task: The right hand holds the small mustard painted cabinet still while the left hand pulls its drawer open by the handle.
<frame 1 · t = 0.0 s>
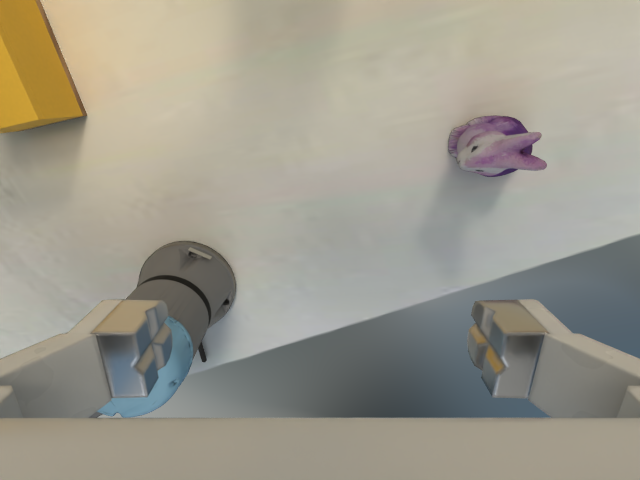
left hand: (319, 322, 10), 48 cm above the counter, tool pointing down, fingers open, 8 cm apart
cabinet: (20, 46, 51), on the counter
figurine: (477, 145, 55), on the counter
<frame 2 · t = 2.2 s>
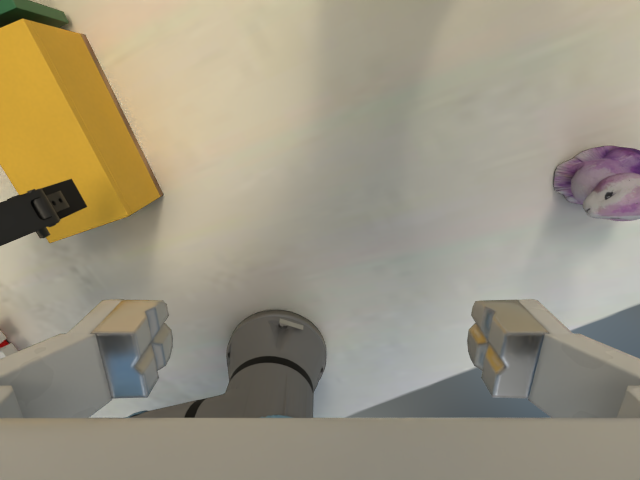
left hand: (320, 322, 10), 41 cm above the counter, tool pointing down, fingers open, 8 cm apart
drawer: (37, 83, 41), point 5 cm above the counter, slide at 1.3 cm
cabinet: (91, 133, 48), on the counter
figurine: (585, 178, 50), on the counter
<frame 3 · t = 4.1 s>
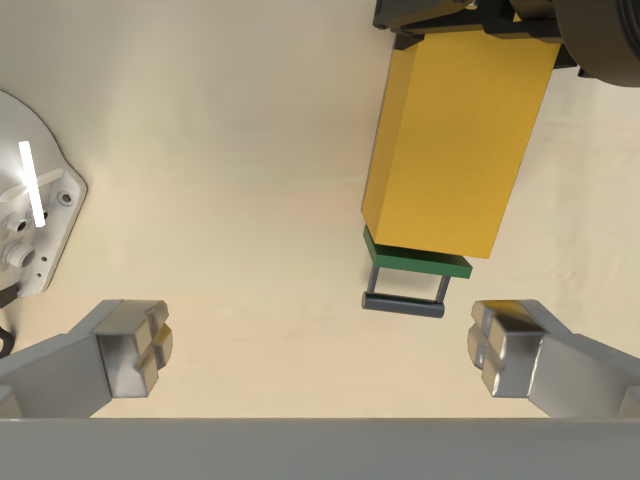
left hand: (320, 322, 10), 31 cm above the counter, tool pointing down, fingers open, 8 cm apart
drawer: (427, 192, 35), point 5 cm above the counter, slide at 1.3 cm
cabinet: (428, 121, 38), on the counter, touching right hand
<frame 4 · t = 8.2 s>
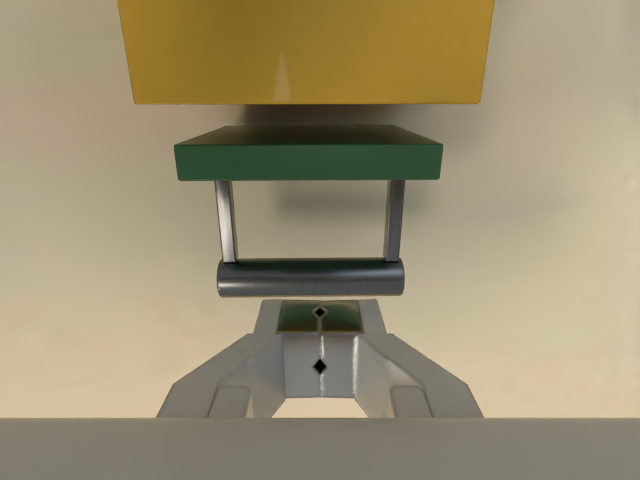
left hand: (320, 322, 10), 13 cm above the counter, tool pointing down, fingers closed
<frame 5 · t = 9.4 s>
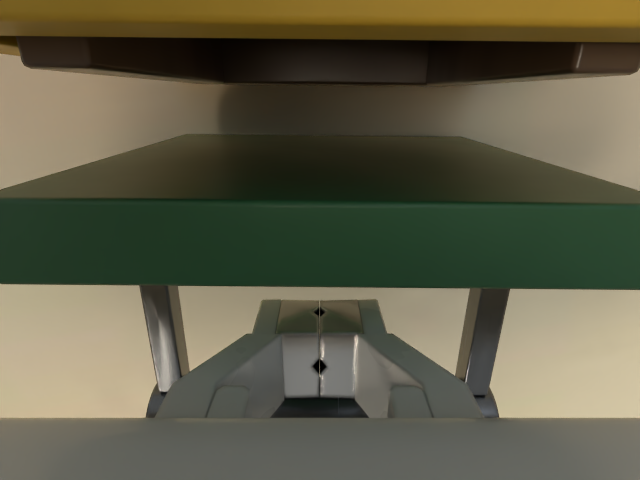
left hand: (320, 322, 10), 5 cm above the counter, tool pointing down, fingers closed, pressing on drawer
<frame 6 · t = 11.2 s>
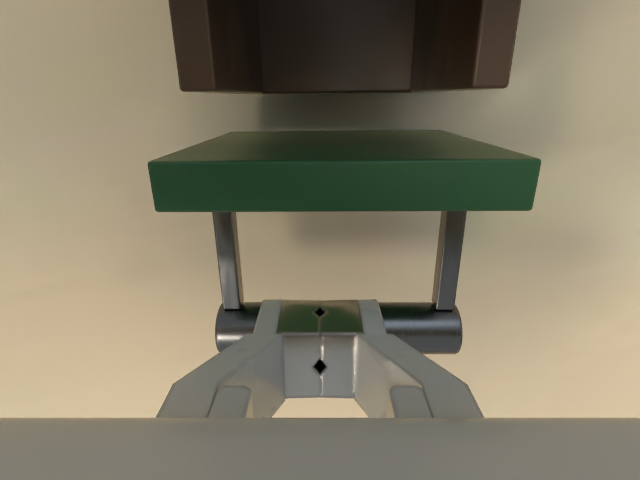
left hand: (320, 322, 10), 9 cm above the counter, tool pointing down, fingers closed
when the right hand's fingers open (5 cm above the counter, at t = 12.3 s): cabinet stays where it is, on the counter.
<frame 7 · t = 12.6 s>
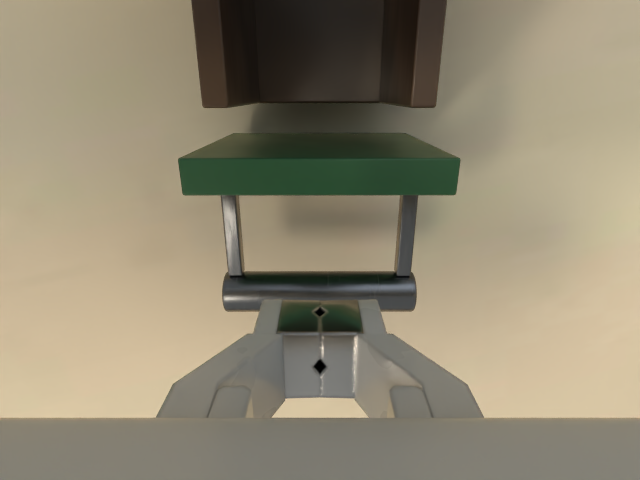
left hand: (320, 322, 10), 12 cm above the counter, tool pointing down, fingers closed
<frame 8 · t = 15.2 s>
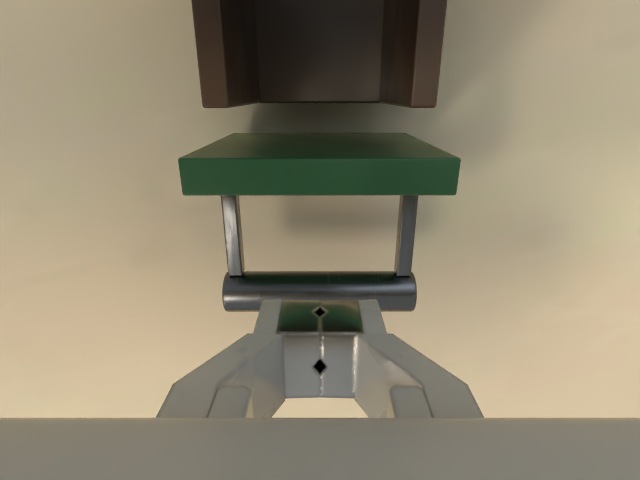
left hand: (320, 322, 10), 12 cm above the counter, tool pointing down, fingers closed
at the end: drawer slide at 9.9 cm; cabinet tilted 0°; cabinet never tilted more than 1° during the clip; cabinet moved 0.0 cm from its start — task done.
